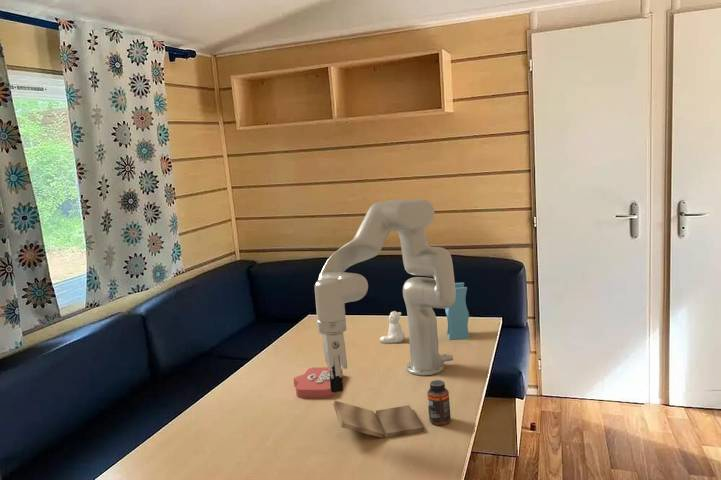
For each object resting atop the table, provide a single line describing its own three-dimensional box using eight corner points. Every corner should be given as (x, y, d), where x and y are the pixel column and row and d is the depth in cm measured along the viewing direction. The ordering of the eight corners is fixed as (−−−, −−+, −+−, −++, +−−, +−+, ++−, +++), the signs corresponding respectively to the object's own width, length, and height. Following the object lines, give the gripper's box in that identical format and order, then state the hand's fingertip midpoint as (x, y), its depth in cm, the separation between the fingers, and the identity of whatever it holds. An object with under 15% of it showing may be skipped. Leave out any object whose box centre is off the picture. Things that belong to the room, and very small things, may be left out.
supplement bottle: (452, 416, 170) (450, 378, 168) (448, 427, 164) (446, 388, 162) (431, 415, 172) (429, 377, 170) (427, 425, 166) (424, 386, 164)
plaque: (300, 365, 208) (343, 365, 205) (301, 376, 208) (344, 376, 206) (285, 387, 190) (331, 387, 188) (286, 399, 191) (332, 399, 188)
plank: (372, 414, 175) (373, 411, 174) (382, 438, 161) (384, 433, 161) (333, 404, 172) (334, 400, 172) (340, 427, 158) (342, 422, 158)
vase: (470, 338, 230) (467, 287, 226) (449, 340, 230) (446, 289, 226) (466, 331, 237) (464, 282, 234) (446, 333, 238) (443, 283, 234)
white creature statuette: (392, 335, 241) (389, 306, 239) (410, 338, 236) (408, 308, 234) (378, 343, 233) (376, 313, 231) (397, 346, 228) (395, 315, 226)
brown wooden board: (409, 408, 177) (409, 405, 176) (423, 431, 163) (422, 427, 163) (373, 414, 175) (373, 411, 174) (384, 438, 161) (383, 433, 161)
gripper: (350, 331, 154) (355, 399, 157) (341, 316, 168) (346, 378, 171) (321, 335, 153) (326, 403, 156) (314, 319, 167) (319, 382, 170)
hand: (336, 390), depth 163 cm, fingers closed
